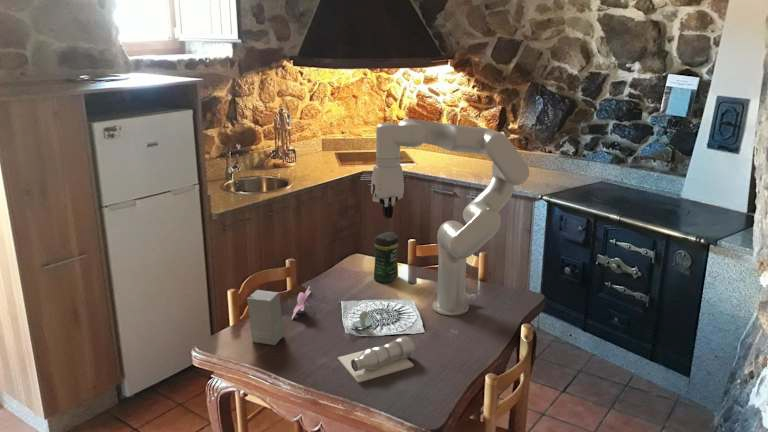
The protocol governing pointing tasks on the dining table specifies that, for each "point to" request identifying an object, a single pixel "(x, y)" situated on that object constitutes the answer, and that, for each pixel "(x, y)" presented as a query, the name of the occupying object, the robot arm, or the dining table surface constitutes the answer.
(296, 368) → the dining table surface
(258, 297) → the skincare box
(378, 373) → the mat
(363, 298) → the dining table surface
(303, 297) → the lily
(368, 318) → the pacifier
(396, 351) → the plastic bottle
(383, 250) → the coffee jar
